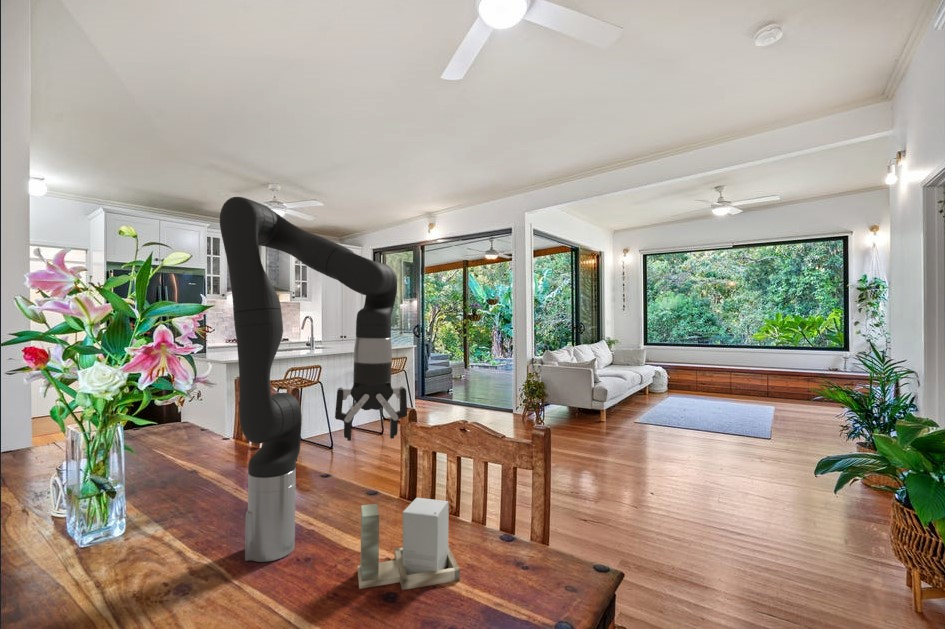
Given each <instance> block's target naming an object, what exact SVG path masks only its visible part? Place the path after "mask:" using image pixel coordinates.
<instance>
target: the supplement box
mask: <svg viewBox="0 0 945 629" xmlns="http://www.w3.org/2000/svg"><path fill="white" fill-rule="evenodd" d="M401 514H402V547H403V566H404V567H405V570H406V574H407V575H411V574H417V573H424V572H430V571H436V572H437V571H438V570H442V569H446V567H447V566H448V565H447V554H448V546H449V501H448V500H439V499H432V498H425V497H424V498H422V497H416V498H415V499H414V500H412V502H411V503H409V505H408V506H407V507H406V508H405V509H404V510H403V511H402V513H401Z"/></svg>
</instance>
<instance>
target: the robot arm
mask: <svg viewBox="0 0 945 629" xmlns="http://www.w3.org/2000/svg"><path fill="white" fill-rule="evenodd" d="M219 226H220V233H221V239H222V243H223V247H224V252H225V256H226V262H227V266H228V273H229V274H228V275H229V281H230V290H231V296H232V310H233V312H232V313H233V322H234V331H235V336H236V345H237V346H236V347H237V359H238V362H237V363H238V374H239V376H238V379H239V380H238V381H239V382H238V383H239V385H238V387H239V390H238V391H239V392H238V397H239V398H238V414H239V415H238V416H239V418H238V419H239V424H240V429H241V432H242V435H243V436H244V438H246V440H248V442H250V443H252V444H259V445H260V444H262V445H261V447H260V448H259V450H258V451H256V453H254V454H253V455H252V456H251V457H250V459H249V461H248V464H247V465H248V474H247V476H248V477H247V478H248V479H247V480H248V482H247V483H248V484H247V511H246V513H245V525H244V526H245V532H244V534H245V535H244V536H245V538H244V539H245V540H244V541H245V543H244V548H245V549H244V561H245V562H247V561H248V562H249V561H252V562H256V563H257V562H258V563H266V562H272V561H277V560H279V559H282V558H285V557H287V556H288V555H290V554H291V553H292V552H294V550H295V547H296V546H295V545H296V542H295V540H296V479H297V478H296V476H297V475H296V474H297V472H296V471H297V469H296V468H297V467H296V466H297V465H296V464H297V459H298V457H299V455H300V450H301V440H302V439H301V438H302V422H303V421H302V418H303V414H302V409H301V406H300V402H299V401H298V399H297V398H296V397H295V395H293V394H291V393H290V392H289V393H288V392H278V393H274V394H272V390H271V370H272V365H273V362H274V360H275V357H276V356H277V355H276V354H277V352H278V350H279V347H280V345H281V342H282V340H283V334H284V323H283V316H282V315H283V314H282V305H281V301H280V298H279V295H278V293H277V291H276V289H275V287H274V285H273V284H272V282H271V279H270V278H269V277H268V275H267V273H266V271H265V269H264V266H263V263H262V260H261V256H260V247H259V246H261V247H265V248H269V249H273V250H277V251H280V252H284V253H286V254H288V255H290V256H292V257H294V258H295V259H297V260H298V261H299V262H301V263H302V264H304V265H305V266H307V267H308V268H310V269H312V270H314V271H316V272H318V273H320V274H322V275H325V276H327V277H329V278H331V279H333V280H337V281H338V282H339V283H341V284H342V285H344V286H345V287H347V288H348V289H350V290H352V291H354V292H356V293H358V294H360V295H363V296H365V298H364V305H363V308H361V309H360V310H358V312H357V314H356V320H355V322H356V323H355V342H354V348H353V349H354V350H353V381H352V383H353V384H352V388H349V389H347V388H343V387H338V388H337V389H336V390H337V391H336V402H335V411H334V412H335V414H334V415H335V416H334V418H335V420H339V421H342V422H343V424H344V425H343V436H344V438H345V439H347V440H346V441H348V442H351V441H352V419H354V417H355V415H357V414H358V412H359V411H360V410H363V411H370V410H375V411H380V410H381V409H384V410H385V411H386V412H387V414H388V415H389V416H390V419H389V438H390V439H393V440H394V439H395V436H397V435H398V425H399V423H398V422H399V419H402V418H406V417H407V416H408V399H407V398H408V396H407V389H406V388H405V386H403V385H402V386H400V387H394V388H393V386H392V361H393V360H392V357H393V356H392V355H393V352H392V351H393V349H392V348H393V346H392V314H393V311H394V307H395V302H396V297H397V293H398V279H397V274H396V272H395V270H394V269H393V268H392V267H391V266H390V265H388V264H386V263H383V262H379V261H374V260H372V259H369V258H366V257H364V256H362V255H360V254H357V253H355V252H354V251H353V250H351V249H350V248H348V247H346V246H345V245H344V246H343V245H341V244H339V243H337V242H335V241H332V240H330V239H328V238H325V237H323V236H320V235H319V234H318V235H317V234H314V233H312V232H310V231H306V230H304V229H303V228H301V227H298V226H296V225H295V224H293V223H291V222H290V221H288V220H287V219H286V218H284V217H283V216H281V215H279V214H278V213H277V212H276V211H274V210H273V209H272V208H270V207H268V206H267V205H265V204H263V203H259V202H257V201H255V200H252V199H249V198H246V197H244V196H243V197H242V196H233V197H230V198H228V199H227V200H226V201H225V202H224V203H223V204H222V207H221V209H220V212H219ZM393 395H395V396H396V398H397V399H399V400H398V402H399V410H397V411H396V410H394V408H393V407H392V404H390V403H389V401H390V399H391V397H392V396H393ZM348 396H351V397H352V399H353V400H354V402H353V404H352V405H351V406H350V408H349V410H348V411H347V412H346V413H345V412H343V401H346V400H348Z"/></svg>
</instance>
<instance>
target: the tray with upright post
mask: <svg viewBox="0 0 945 629" xmlns="http://www.w3.org/2000/svg"><path fill="white" fill-rule="evenodd" d="M360 507H361V508H360V509H361V510H360V512H361V513H360V518H361V519H360V565H357V578H358V588H359V590H360V589H367V588H372V587H378V586H385V585H391V584H396V583H397V584H398V583H399V584H400V587H401V590H402V591H404V590H405V591H406V590H411V589H417V588H423V587H428V586H429V587H430V586H434V585H440V584H445V583H446V584H447V583H451V582H457V581H461V569H460V567H459V565H458V563H457V561H456V559H455V556H454V555H453V552H452V551H451V549H450V547H449V545H448V554H447V565H446V566H448V568H445V569H442V570H438V571H437V572H436V571H430V572H424V573H417V574H411V575H407V574H406V570H405V567H404V566H403V546H402V547H396V548H395V547H394V559H393V560H387V561H379V560H380V558H379V556H380V553H379V552H380V512H379V507H378V503H372V504H370V503H369V504H362V505H361V506H360Z"/></svg>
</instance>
